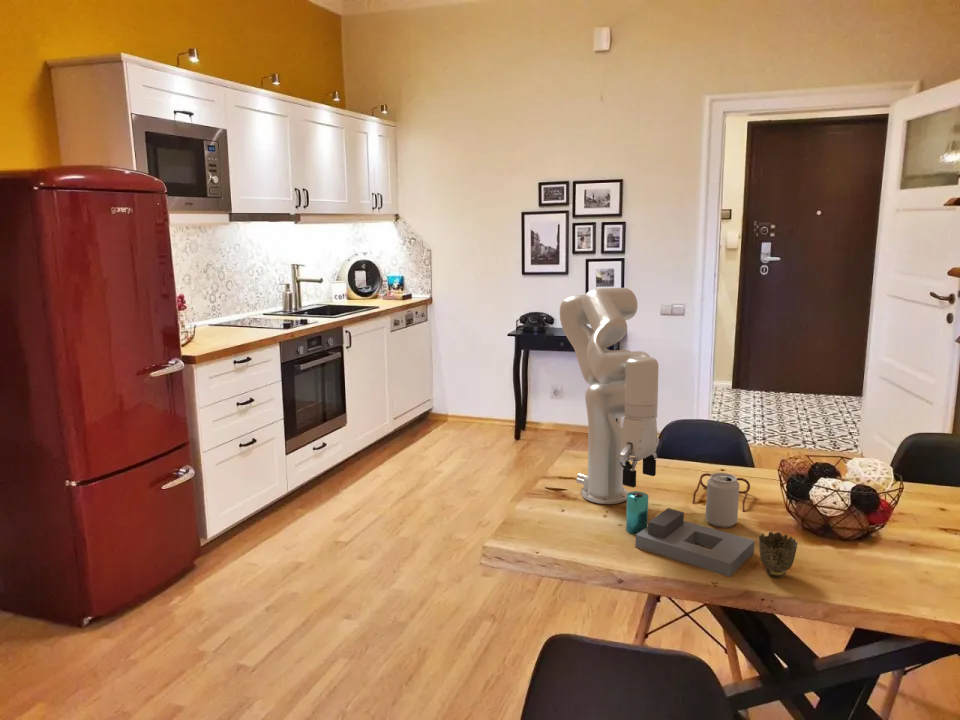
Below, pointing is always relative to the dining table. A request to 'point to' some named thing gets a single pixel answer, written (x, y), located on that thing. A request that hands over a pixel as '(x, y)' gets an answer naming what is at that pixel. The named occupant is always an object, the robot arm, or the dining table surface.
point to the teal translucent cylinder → (636, 512)
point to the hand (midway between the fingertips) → (639, 480)
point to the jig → (678, 541)
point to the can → (722, 500)
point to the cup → (777, 553)
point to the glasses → (706, 487)
